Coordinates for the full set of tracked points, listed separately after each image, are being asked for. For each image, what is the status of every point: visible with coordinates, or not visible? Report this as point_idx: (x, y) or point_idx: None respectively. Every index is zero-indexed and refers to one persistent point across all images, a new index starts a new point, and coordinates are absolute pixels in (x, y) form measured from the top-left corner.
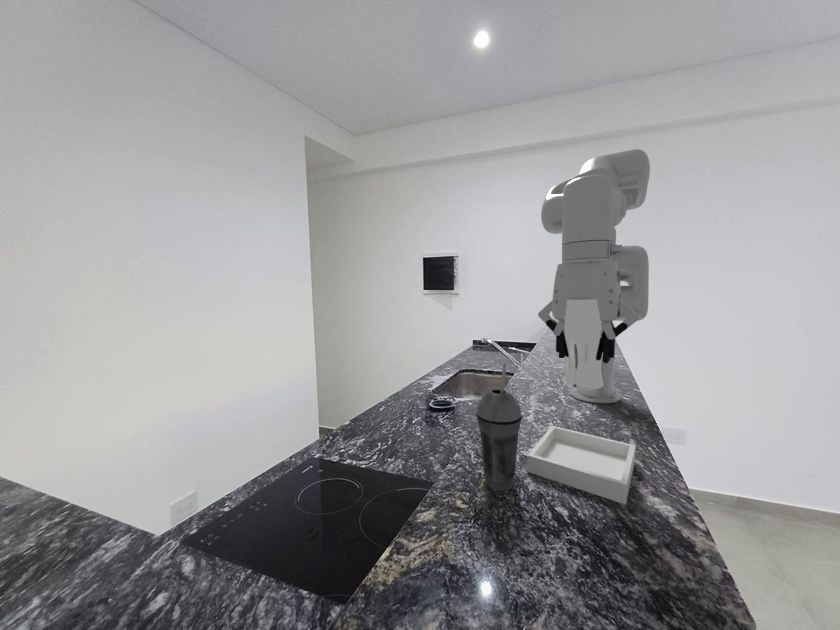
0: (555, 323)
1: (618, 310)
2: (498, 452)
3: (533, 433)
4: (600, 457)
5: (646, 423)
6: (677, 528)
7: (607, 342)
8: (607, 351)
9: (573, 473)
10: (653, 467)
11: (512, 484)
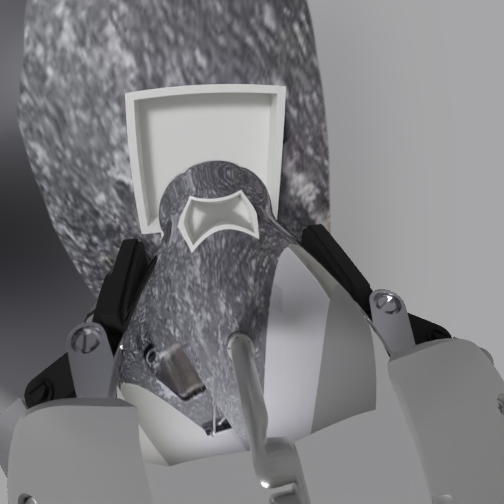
0: (65, 397)
1: (496, 371)
2: None
3: (95, 94)
4: (227, 116)
5: None
6: (313, 218)
7: None
8: None
9: None
10: (301, 92)
11: (149, 261)
